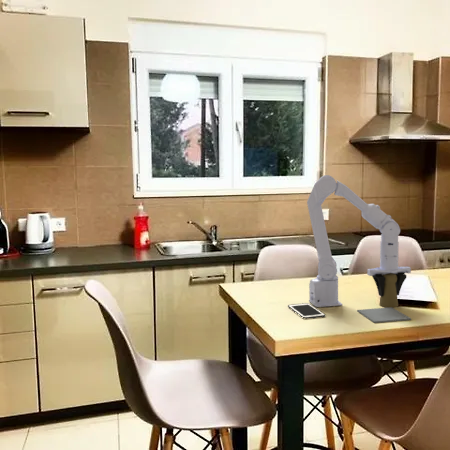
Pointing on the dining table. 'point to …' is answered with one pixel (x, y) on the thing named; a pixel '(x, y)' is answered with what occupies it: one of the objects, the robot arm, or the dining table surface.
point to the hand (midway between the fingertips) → (388, 295)
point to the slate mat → (383, 315)
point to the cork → (389, 291)
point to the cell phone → (306, 310)
